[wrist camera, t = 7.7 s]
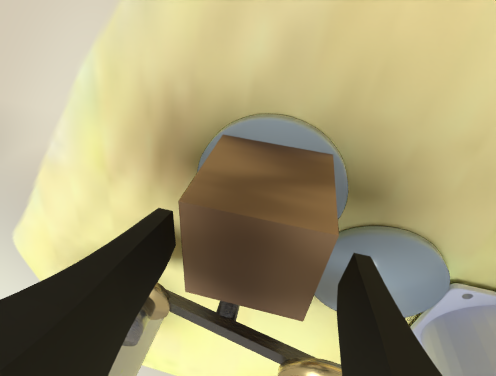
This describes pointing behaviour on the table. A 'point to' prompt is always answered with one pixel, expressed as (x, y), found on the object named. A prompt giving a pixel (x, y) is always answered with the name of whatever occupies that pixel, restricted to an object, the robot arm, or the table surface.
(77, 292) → the robot arm
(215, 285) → the block
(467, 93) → the table surface
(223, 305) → the balance
